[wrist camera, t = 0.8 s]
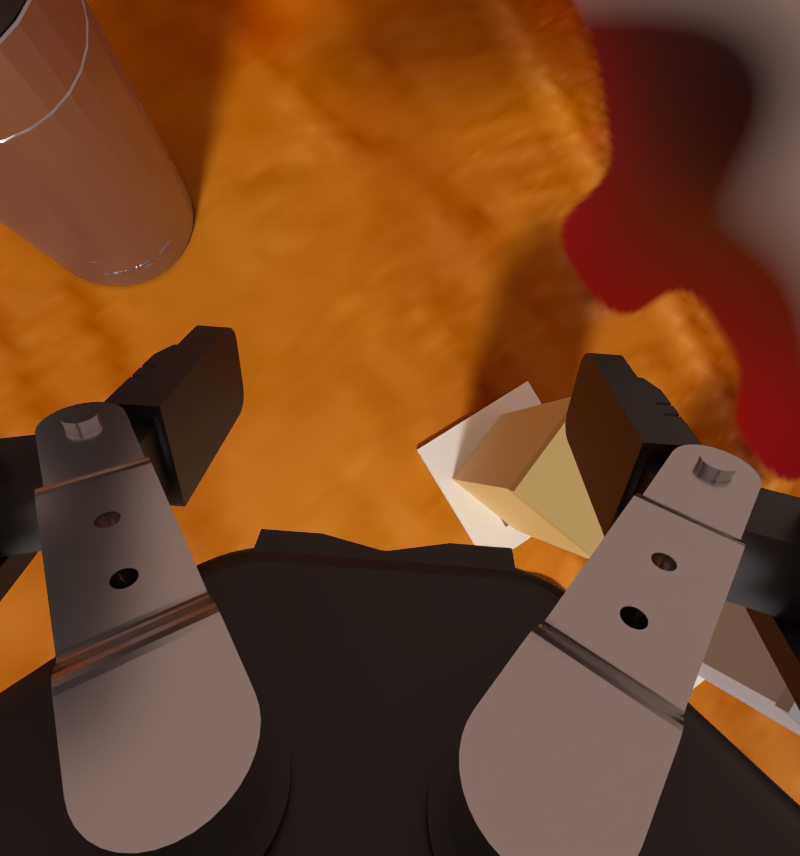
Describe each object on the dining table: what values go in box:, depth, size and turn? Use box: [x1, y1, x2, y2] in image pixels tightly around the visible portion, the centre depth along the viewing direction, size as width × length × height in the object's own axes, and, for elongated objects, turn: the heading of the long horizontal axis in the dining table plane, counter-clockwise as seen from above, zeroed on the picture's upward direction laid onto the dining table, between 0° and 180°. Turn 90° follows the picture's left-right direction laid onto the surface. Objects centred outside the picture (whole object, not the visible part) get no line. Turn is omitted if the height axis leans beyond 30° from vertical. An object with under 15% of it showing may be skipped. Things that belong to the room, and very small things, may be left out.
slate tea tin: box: [698, 601, 800, 735], centre depth 29 cm, size 6×6×12 cm
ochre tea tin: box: [452, 397, 604, 559], centre depth 28 cm, size 6×6×12 cm
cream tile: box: [417, 381, 541, 549], centre depth 34 cm, size 9×9×1 cm
